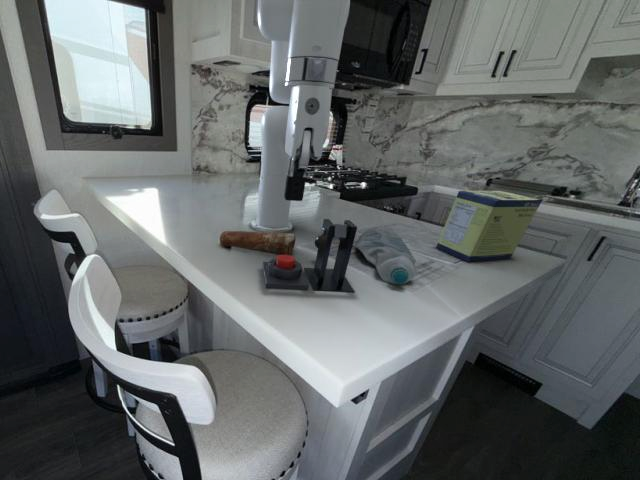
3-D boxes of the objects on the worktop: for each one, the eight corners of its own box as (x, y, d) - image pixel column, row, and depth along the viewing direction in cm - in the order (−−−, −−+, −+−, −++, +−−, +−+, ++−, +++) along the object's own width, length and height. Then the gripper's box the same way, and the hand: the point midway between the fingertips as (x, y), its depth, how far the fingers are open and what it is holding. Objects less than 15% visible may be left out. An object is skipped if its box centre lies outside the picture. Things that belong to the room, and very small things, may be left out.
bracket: (302, 272, 67) (312, 214, 60) (338, 274, 67) (352, 216, 60) (311, 295, 58) (325, 230, 52) (353, 297, 58) (371, 232, 52)
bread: (291, 261, 72) (294, 238, 69) (216, 248, 77) (216, 226, 74) (295, 252, 77) (299, 230, 74) (225, 240, 82) (226, 219, 79)
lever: (312, 250, 69) (313, 236, 68) (326, 251, 69) (327, 236, 69) (331, 239, 56) (332, 221, 56) (348, 239, 56) (349, 222, 56)
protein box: (511, 258, 81) (544, 199, 73) (467, 262, 77) (497, 199, 69) (475, 244, 90) (501, 190, 82) (434, 247, 86) (457, 190, 78)
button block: (261, 270, 66) (263, 253, 64) (298, 272, 67) (301, 255, 65) (265, 293, 58) (267, 274, 56) (306, 295, 58) (310, 276, 56)
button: (275, 262, 62) (276, 254, 61) (292, 262, 62) (293, 254, 61) (276, 269, 59) (278, 261, 58) (295, 270, 59) (296, 262, 58)
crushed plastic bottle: (350, 246, 82) (356, 286, 61) (359, 220, 79) (369, 253, 57) (401, 257, 80) (425, 302, 59) (412, 231, 77) (443, 269, 55)
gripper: (349, 72, 40) (322, 212, 50) (323, 81, 53) (305, 191, 62) (293, 69, 40) (276, 209, 50) (280, 79, 53) (269, 189, 62)
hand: (293, 199), depth 56 cm, fingers closed
